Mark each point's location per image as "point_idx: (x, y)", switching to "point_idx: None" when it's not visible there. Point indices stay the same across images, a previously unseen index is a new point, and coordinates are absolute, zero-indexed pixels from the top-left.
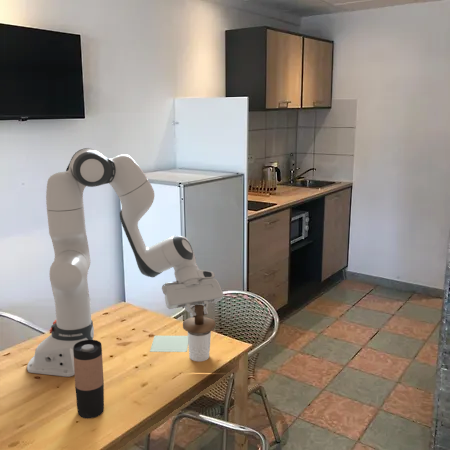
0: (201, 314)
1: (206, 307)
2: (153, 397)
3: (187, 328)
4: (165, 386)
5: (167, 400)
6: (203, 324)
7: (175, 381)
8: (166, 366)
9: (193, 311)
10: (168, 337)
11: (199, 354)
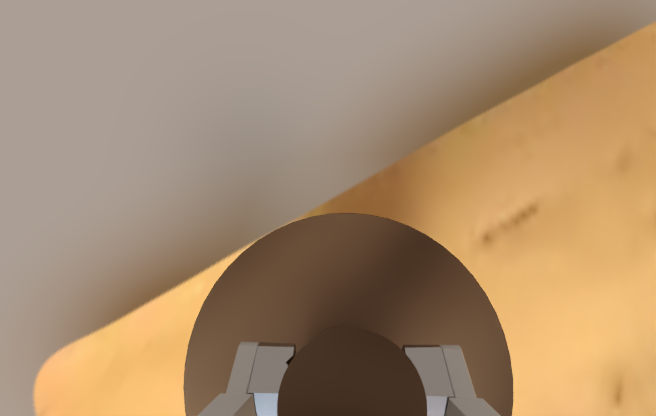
0: (339, 327)
1: (223, 407)
2: (647, 100)
3: (491, 307)
4: (582, 157)
5: (595, 60)
6: (320, 320)
7: (529, 177)
8: (538, 333)
9: (439, 389)
10: None
11: None
